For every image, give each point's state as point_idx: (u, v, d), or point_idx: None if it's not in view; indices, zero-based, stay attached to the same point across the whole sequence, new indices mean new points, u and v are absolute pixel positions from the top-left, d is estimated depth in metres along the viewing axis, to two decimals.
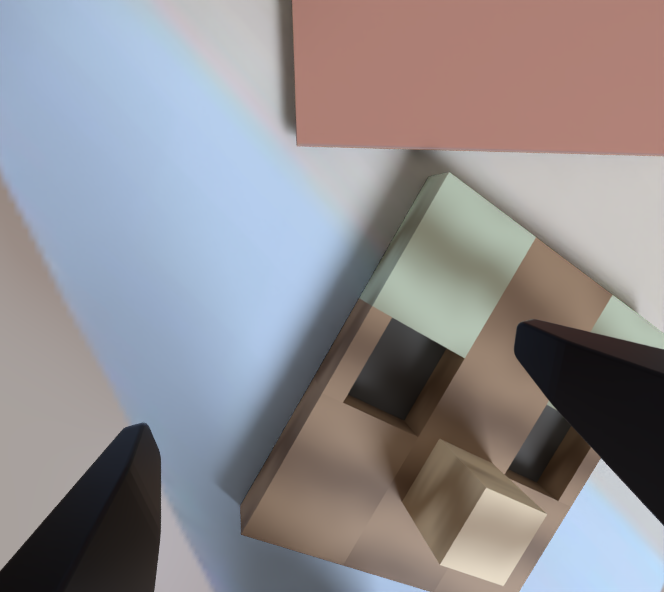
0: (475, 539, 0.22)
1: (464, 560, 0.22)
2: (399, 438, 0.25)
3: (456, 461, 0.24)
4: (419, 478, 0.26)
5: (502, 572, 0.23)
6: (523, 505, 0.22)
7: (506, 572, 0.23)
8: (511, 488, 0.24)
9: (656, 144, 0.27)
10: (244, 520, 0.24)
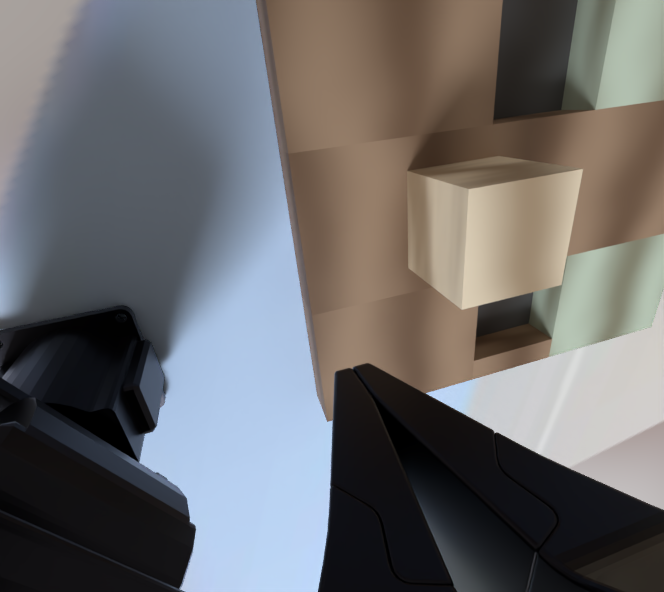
0: (514, 213, 0.15)
1: (482, 222, 0.15)
2: (483, 97, 0.18)
3: (527, 161, 0.17)
4: (449, 165, 0.18)
5: (478, 292, 0.16)
6: (567, 243, 0.16)
7: (480, 298, 0.16)
8: None
9: None
10: None
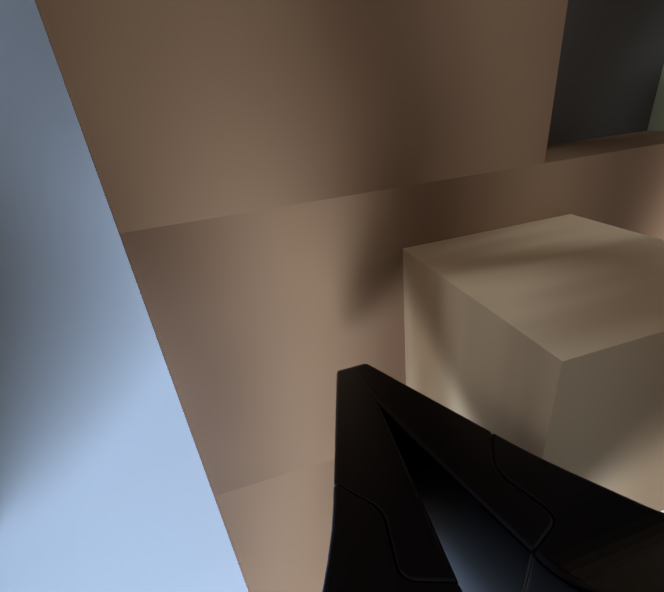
0: (657, 392, 0.06)
1: (585, 421, 0.06)
2: (530, 112, 0.09)
3: (644, 238, 0.09)
4: (483, 236, 0.10)
5: None
6: None
7: None
8: None
9: None
10: None
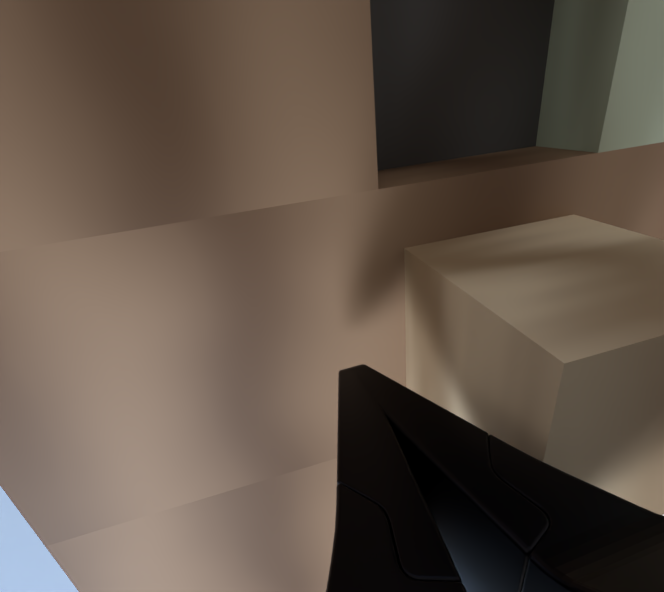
0: (660, 395, 0.06)
1: (586, 424, 0.06)
2: (349, 135, 0.08)
3: (648, 239, 0.09)
4: (485, 236, 0.10)
5: None
6: None
7: None
8: None
9: None
10: None
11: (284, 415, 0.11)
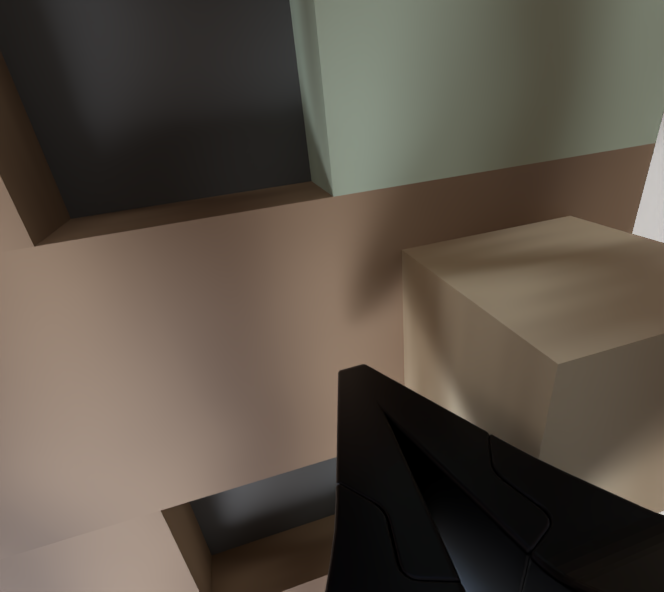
0: (653, 395, 0.06)
1: (581, 423, 0.06)
2: None
3: (643, 240, 0.09)
4: (482, 238, 0.10)
5: None
6: None
7: None
8: None
9: None
10: None
11: (0, 492, 0.09)
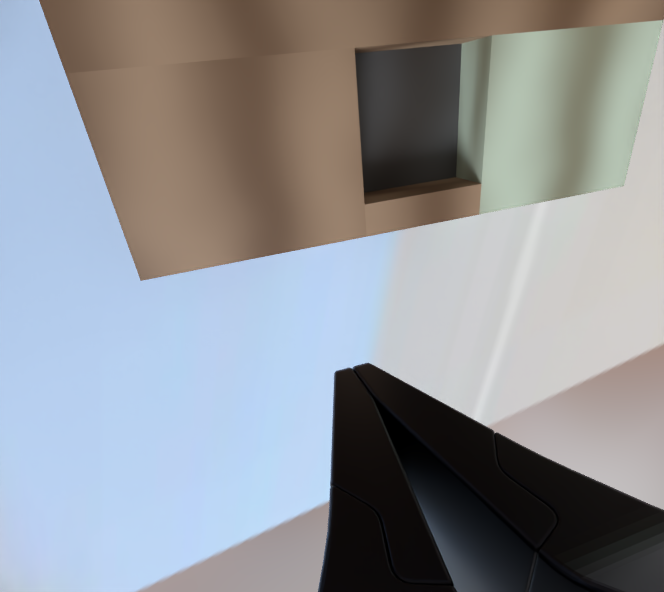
0: None
1: None
2: None
3: None
4: None
5: None
6: None
7: None
8: None
9: None
10: None
11: None
